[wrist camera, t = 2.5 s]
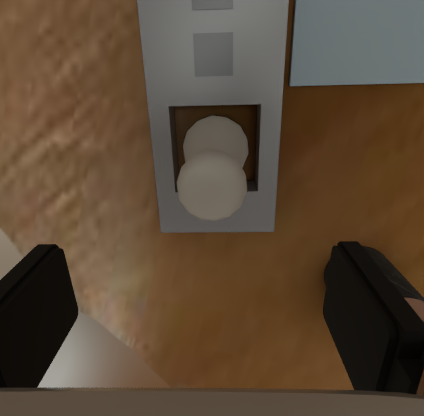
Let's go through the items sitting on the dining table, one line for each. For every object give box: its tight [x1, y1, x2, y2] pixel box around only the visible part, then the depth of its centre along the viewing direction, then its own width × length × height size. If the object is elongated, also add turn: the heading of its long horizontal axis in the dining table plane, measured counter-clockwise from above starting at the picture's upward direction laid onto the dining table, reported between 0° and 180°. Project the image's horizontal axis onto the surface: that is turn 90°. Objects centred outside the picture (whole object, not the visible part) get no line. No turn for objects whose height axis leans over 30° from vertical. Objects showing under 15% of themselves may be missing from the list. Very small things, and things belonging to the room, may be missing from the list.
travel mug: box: [324, 247, 424, 322], centre depth 26 cm, size 8×8×20 cm
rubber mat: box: [289, 0, 424, 86], centre depth 25 cm, size 12×12×1 cm
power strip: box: [137, 0, 289, 233], centre depth 26 cm, size 26×11×4 cm, turn 1°
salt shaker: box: [177, 115, 249, 221], centre depth 24 cm, size 6×6×13 cm
